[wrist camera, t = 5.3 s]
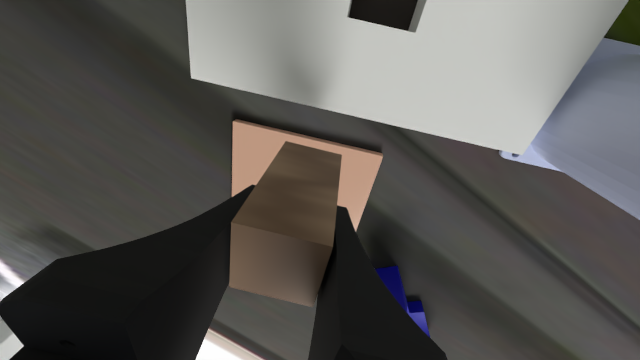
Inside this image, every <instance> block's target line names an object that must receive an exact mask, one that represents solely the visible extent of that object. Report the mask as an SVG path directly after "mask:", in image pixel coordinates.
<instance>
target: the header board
mask: <svg viewBox="0 0 640 360" xmlns="http://www.w3.org/2000/svg"><path fill="white" fill-rule="evenodd" d="M628 1H629V0H418V2H417V5H416V8H415V11H414V14H413V17H412V20H411V23H410V26H409V29H408V31H405V30H401V29H396V28H392V27H388V26H383V25H379V24H375V23H370V22H366V21H362V20H357V19H353V18H349V14H350V9H351V5H352V0H186V10H187V24H188V39H189V54H190V68H191V78H193V79H197V80H201V81H206V82H210V83H214V84H219V85H223V86H227V87H231V88H236V89H240V90H244V91H249V92H253V93H257V94H261V95H266V96H270V97H274V98H279V99H283V100H287V101H292V102H296V103H300V104H304V105H309V106H313V107H317V108H322V109H326V110H330V111H334V112H339V113H343V114H347V115H352V116H356V117H360V118H364V119H369V120H373V121H377V122H382V123H386V124H390V125H394V126H399V127H403V128H407V129H412V130H416V131H420V132H424V133H429V134H433V135H437V136H442V137H446V138H450V139H454V140H459V141H463V142H467V143H472V144H476V145H480V146H485V147H489V148H493V149H497V150H502V151H506V152H510V153H515V154H519V155H523V154H524V152H525V151H526V149H527V148H528V146H529V145H530V143H531V142H532V141H533V139H534V138H535V136H536V135H537V133H538V132H539V130H540V129H541V127H542V126H543V125H544V123H545V122H546V120H547V119H548V117H549V116H550V114H551V113H552V111H553V110H554V109H555V107H556V106H557V104H558V103H559V101H560V100H561V98H562V97H563V95H564V94H565V92H566V91H567V90H568V88H569V87H570V85H571V84H572V82H573V81H574V79H575V78H576V76H577V75H578V74H579V72H580V71H581V69H582V68H583V66H584V65H585V63H586V62H587V60H588V59H589V58H590V56H591V55H592V53H593V52H594V50H595V49H596V47H597V46H598V44H599V43H600V42H601V40H602V39H603V37H604V36H605V34H606V33H607V31H608V30H609V28H610V27H611V26H612V24H613V23H614V21H615V20H616V18H617V17H618V15H619V14H620V12H621V11H622V10H623V8H624V7H625V5H626V4H627V2H628Z"/></svg>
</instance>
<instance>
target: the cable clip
mask: <svg viewBox="0 0 640 360" xmlns="http://www.w3.org/2000/svg"><path fill="white" fill-rule="evenodd" d="M375 270H376V272H377V274H378V275H379V277H380V278H381V280H382V281H383V283H384V284H385V286H386V287H387V288H388V290H389V291H390V292H391V294H392V295H393V296H394V297H395V299H396V300H397V301H398V303H399V304H400V305H401V306H402V308H403V309H404V310H405V311H406V312H407V314H408V315H409V316H410V317H411V318H412V319H413V320H414V322H415V323H416V324H417V325H418V326H419V327H420V328H421V329H422V330H423V331H424V332H425V333H426V334H427V335H428V336H429V337H430V335H429V331H428V327H427V323H426V319H425V314H424V310H423V306H422V303H421V301H413V302H407V299H406V295H405V292H404V288H403V284H402V281H401V277H400V273H399V270H398V266H393V267H385V268H378V269H375Z"/></svg>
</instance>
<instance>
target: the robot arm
mask: <svg viewBox="0 0 640 360" xmlns="http://www.w3.org/2000/svg"><path fill="white" fill-rule="evenodd" d="M499 154H500V156H502V157H503V158H506V159H510V160H514V161H519V162H523V163H527V164H531V165H536V166H540V167H544V168H549V169H553V170H557V171H561V172H564V173H566V174H567V175H569V176H570V177H572V178H574V179H575V180H577V181H578V182H580V183H582V184H583V185H585V186H586V187H588V188H590V189H591V190H593V191H594V192H596V193H598V194H599V195H601V196H602V197H604V198H606V199H607V200H609V201H610V202H612V203H614V204H615V205H617V206H618V207H620V208H621V209H623V210H625V211H626V212H628V213H629V214H631V215H633V216H634V217H636V218H637V219H639V220H640V46H638V45H634V44H629V43H625V42H621V41H616V40H612V39H607V38H603V39H602V40H601V42H600V43H599V44H598V46H597V47H596V49H595V50H594V52H593V53H592V55H591V56H590V58H589V59H588V60H587V62H586V63H585V65H584V66H583V68H582V69H581V71H580V72H579V74H578V75H577V76H576V78H575V79H574V81H573V82H572V84H571V85H570V87H569V88H568V90H567V91H566V92H565V94H564V95H563V97H562V98H561V100H560V101H559V103H558V104H557V106H556V107H555V109H554V110H553V111H552V113H551V114H550V116H549V117H548V119H547V120H546V122H545V123H544V125H543V126H542V127H541V129H540V130H539V132H538V133H537V135H536V136H535V138H534V139H533V141H532V142H531V143H530V145H529V146H528V148H527V149H526V151H525V152H524V154H523V155H519V154H514V155H512V153H510V152H506V151H502V150H499ZM255 186H256V185H253V184H252V185H250V186H249V187H247V188H245V189H244V190H242V191H241V192H239V193H238V194H236V195H234V196H233V197H231V198H230V199H228V200H226V201H225V202H223V203H221V204H220V205H218V206H216V207H214V208H212V209H211V210H209V211H207V212H205V213H203V214H201V215H199V216H197V217H195V218H193V219H191V220H189V221H186V222H184V223H182V224H179V225H177V226H174V227H172V228H169V229H166V230H164V231H161V232H158V233H155V234H152V235H149V236H147V237H144V238H140V239H137V240H134V241H131V242H127V243H124V244H120V245H116V246H113V247H109V248H105V249H101V250H96V251H92V252H88V253H83V254H79V255H74V256H70V257H65V258H60V259H57V260H55V261H54V262H52V263H51V264H50V265H48V266H47V267H45V268H44V269H43V270H41V271H40V272H39V273H37V274H36V275H35V276H33V277H32V278H30V279H29V280H28V281H26V282H25V283H24V284H22V285H21V286H20V287H18V288H17V289H16V290H14V291H13V292H11V293H10V294H9V295H7V296H6V297H5V298H3V299H2V301H1V302H0V316H1V317H2V319H3V320H4V322H5V323H6V324H7V326H8V327H9V328H10V329H11V331H12V332H13V333H14V334H15V335H16V337H17V338H18V339H19V340H20V342H21V343H22V344H23V345H24V346H23V347H22V348H21V349H20V350H19V351H18V352H17V353H16V354H15V355H14V356H13V357H12V358H10V359H9V360H195V359H196V357H197V354H198V352H199V349H200V347H201V345H202V342H203V340H204V337H205V335H206V333H207V330H208V328H209V326H210V323H211V321H212V319H213V317H214V314H215V312H216V310H217V307H218V305H219V303H220V301H221V299H222V296H223V294H224V292H225V290H226V288H227V286H228V284H229V280H230V245H231V222H232V220H233V219H234V217H235V216H236V214H237V213H238V211H239V210H240V208H241V207H242V205H243V204H244V202H245V201H246V199H247V198H248V196H249V195H250V193H251V192H252V190H253V189H254V187H255ZM308 360H447V357H446V354H445V353H444V352H443V351H442V350H441V349H440V348H439V347H438V346H437V344H436V343H435V342H434V341H433V340H432V339H431V338H430V337H429V336H428V335H427V334H426V333H425V332H424V331H423V330H422V329H421V328H420V327H419V326H418V325H417V324H416V323H415V322H414V320H413V319H412V318H411V317H410V316H409V315H408V314H407V312H406V311H405V310H404V309H403V308H402V306H401V305H400V304H399V303H398V301H397V300H396V299H395V297H394V296H393V295H392V294H391V292H390V291H389V290H388V288H387V287H386V286H385V284H384V283H383V281H382V280H381V278H380V277H379V275H378V274H377V272H376V270H375V269H374V267H373V265H372V264H371V262H370V260H369V258H368V256H367V255H366V253H365V251H364V249H363V247H362V245H361V243H360V240H359V238H358V236H357V234H356V231H355V229H354V226H353V224H352V221H351V218H350V215H349V212H348V209H347V208H346V207H342V206H338V205H337V211H336V221H335V231H334V242H333V248H332V251H331V254H330V257H329V260H328V263H327V267H326V270H325V273H324V276H323V279H322V282H321V285H320V288H319V291H318V297H317V308H316V316H315V322H314V328H313V334H312V340H311V346H310V352H309V358H308Z"/></svg>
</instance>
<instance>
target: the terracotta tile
mask: <svg viewBox="0 0 640 360" xmlns="http://www.w3.org/2000/svg"><path fill="white" fill-rule="evenodd" d="M285 141H288V142H292V143H296V144H300V145H304V146H308V147H312V148H316V149H320V150H325V151H329V152H333V153H337V154H341V155H342V159H341V170H340V180H339V190H338V201H337V205H338V206H342V207H346V208H347V209H348V212H349V215H350V218H351V221H352V224H353V226H354V229H355V231H356V229H357V227H358V224H359V221H360V218H361V216H362V213H363V210H364V207H365V205H366V202H367V199H368V196H369V194H370V191H371V188H372V186H373V183H374V180H375V177H376V175H377V172H378V169H379V166H380V164H381V161H382V158H383V154H382V153H379V152H375V151H370V150H366V149H362V148H357V147H353V146H349V145H345V144H340V143H336V142H332V141H328V140H323V139H319V138H315V137H310V136H306V135H302V134H298V133H293V132H289V131H285V130H281V129H276V128H272V127H268V126H263V125H259V124H255V123H251V122H246V121H242V120H238V119H236V120H234V121H233V150H232V197H233V196H234V195H236V194H238V193H239V192H241V191H242V190H244V189H245V188H247V187H249V186H250V185H252V184H253V185H257V183H258V182H259V180H260V179H261V177H262V176H263V174H264V173H265V171H266V170H267V168H268V167H269V165H270V164H271V162H272V161H273V159H274V158H275V156H276V155H277V153H278V152H279V150H280V149H281V147H282V146H283V144H284V143H285Z"/></svg>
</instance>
